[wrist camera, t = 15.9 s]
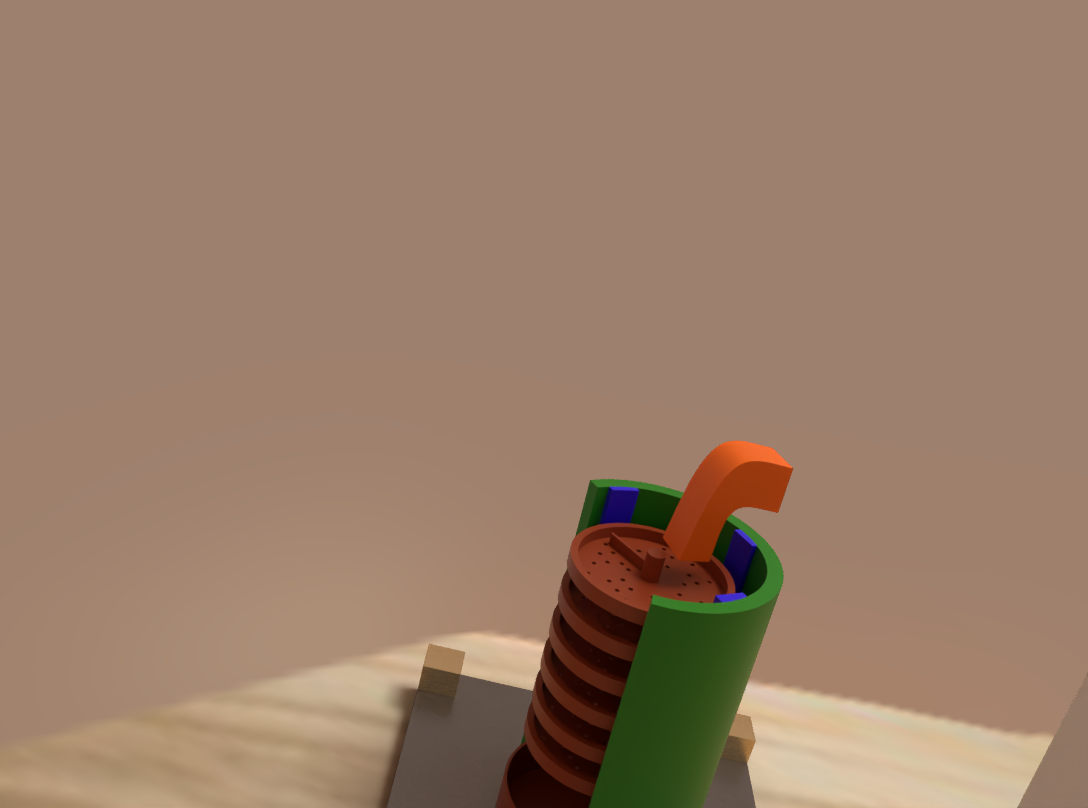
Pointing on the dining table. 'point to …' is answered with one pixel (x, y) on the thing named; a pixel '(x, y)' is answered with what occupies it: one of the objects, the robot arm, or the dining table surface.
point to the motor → (651, 639)
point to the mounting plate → (502, 742)
